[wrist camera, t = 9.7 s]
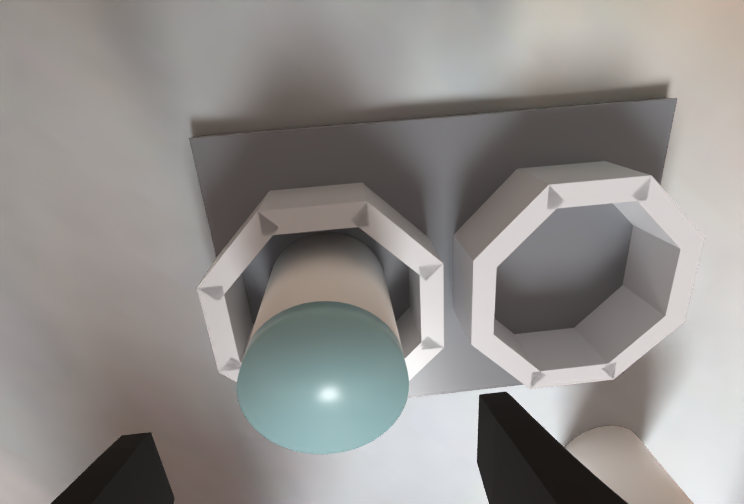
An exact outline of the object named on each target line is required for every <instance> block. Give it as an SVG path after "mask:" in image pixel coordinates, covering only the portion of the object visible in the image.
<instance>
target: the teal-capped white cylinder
mask: <svg viewBox="0 0 744 504" xmlns="http://www.w3.org/2000/svg"><path fill="white" fill-rule="evenodd" d="M408 392H409V377H408V371H407V367H406V362H405V358H404V354H403V350H402V346H401V342H400V337H399V333H398V329H397V325H396V321H395V317H394V312H393V308H392V304H391V300H390V296H389V292H388V287H387V283H386V279H385V275H384V271H383V268H382V266H381V263H380V261H379V260H378V258H377V257H376V255H375V254H374V253H373V252H372V250H371V249H370V248H368V247H367V246H366V245H365V244H363V243H362V242H360V241H359V240H357V239H355V238H353V237H350V236H347V235H344V234H340V233H332V232H324V233H316V234H311V235H308V236H305V237H303V238H300V239H298V240H297V241H295V242H293V243H292V244H290V245H289V246H288V247H287V248H286V249H285V250H284V251H283V252H282V253H281V254H280V256H279V257H278V258H277V260H276V262H275V264H274V266H273V269H272V272H271V275H270V278H269V281H268V284H267V287H266V290H265V293H264V297H263V300H262V303H261V306H260V309H259V312H258V315H257V318H256V321H255V324H254V327H253V330H252V333H251V336H250V340H249V343H248V346H247V349H246V352H245V355H244V358H243V361H242V364H241V367H240V370H239V373H238V379H237V395H238V401H239V404H240V407H241V410H242V412H243V413H244V415H245V417H246V419H247V420H248V421H249V423H250V424H251V425H252V426H253V427H254V428H255V429H256V430H257V431H258V432H259V433H260V434H261V435H263V436H264V437H265V438H267V439H268V440H270V441H272V442H273V443H275V444H277V445H279V446H282V447H284V448H287V449H290V450H293V451H298V452H302V453H310V454H333V453H340V452H345V451H349V450H352V449H355V448H358V447H361V446H363V445H365V444H367V443H369V442H371V441H373V440H375V439H376V438H378V437H379V436H381V435H382V434H383V433H384V432H386V431H387V430H388V429H389V428H390V427H391V426H392V425H393V424H394V423H395V421H396V420H397V419H398V417H399V416H400V414H401V412H402V410H403V409H404V406H405V404H406V401H407V397H408Z"/></svg>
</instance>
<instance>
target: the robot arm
mask: <svg viewBox="0 0 744 504" xmlns="http://www.w3.org/2000/svg"><path fill="white" fill-rule="evenodd" d="M477 464H478V467H479V471H480V474H481V478H482V481H483V485H484V488H485V491H486V495H487V498H488V501H489V504H628V503H627V502H626V501H625V500H624V499H622V498H621V497H620V496H619V495H618V494H616V493H615V492H614V491H613V490H612V489H610V488H609V487H608V486H607V485H606V484H605V483H603V482H602V481H601V480H600V479H599V478H598V477H596V476H595V475H594V474H593V473H592V472H591V471H590V470H589V469H588V468H586V467H585V466H584V465H583V464H582V463H581V462H580V461H579V460H578V459H576V458H575V457H574V456H573V455H572V454H571V453H570V452H569V451H568V450H566V449H565V448H564V447H563V446H562V445H561V444H560V443H559V442H558V441H557V440H556V439H555V438H554V437H553V436H552V435H551V434H549V433H548V432H547V431H546V430H545V429H544V428H543V427H542V426H541V425H540V424H539V423H538V422H537V421H536V420H535V419H534V418H533V417H532V416H531V415H530V414H529V413H528V412H527V411H526V410H525V409H524V408H523V407H522V406H521V405H520V404H519V403H518V402H517V401H516V400H515V399H514V398H513V397H512V396H511V395H509V394H508V393H507V392H499V393H490V394H481V395H479V419H478V448H477ZM174 499H175V498H174V496H173V493H172V490H171V487H170V485H169V482H168V479H167V476H166V473H165V471H164V468H163V465H162V462H161V459H160V457H159V454H158V451H157V448H156V446H155V443H154V440H153V437H152V434H151V432H149V433H140V434H132V435H123V436H121V437H120V438H119V439H118V440H117V441H115V442H114V443H113V444H112V445H111V446H110V447H109V448H108V449H107V450H106V451H105V452H104V453H103V454H102V455H101V456H100V457H98V458H97V459H96V460H95V461H94V462H93V463H92V464H91V465H90V466H89V467H88V468H87V469H86V470H85V471H84V472H83V473H82V474H81V475H80V476H79V477H78V478H77V479H76V480H75V481H74V482H73V483H72V484H71V485H70V486H69V487H68V488H67V489H66V490H65V491H63V492H62V493H61V494H60V495H59V496H58V497H57V498H56V499H55V500H54V501H53V502H52V503H51V504H173V503H174Z"/></svg>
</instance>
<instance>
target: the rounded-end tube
mask: <svg viewBox="0 0 744 504" xmlns="http://www.w3.org/2000/svg"><path fill="white" fill-rule="evenodd" d="M565 449H566V450H568V451H569V452H570V453H571V454H572V455H573V456H574V457H575V458H576V459H578V460H579V461H580V462H581V463H582V464H583V465H584V466H585V467H586V468H588V469H589V470H590V471H591V472H592V473H593V474H594V475H595V476H596V477H598V478H599V479H600V480H601V481H602V482H603V483H605V484H606V485H607V486H608V487H609V488H610V489H612V490H613V491H614V492H615V493H616V494H618V495H619V496H620V497H621V498H622V499H624V500H625V501H626V502H627V503H628V504H694V503H693V502H692V501H691V500H690V499H689V498H688V496H687V495H686V494H685V493H684V492H683V490H682V489H681V488H680V487H679V486H678V484H677V483H676V482H675V481H674V480H673V478H672V477H671V476H670V475H669V474H668V473H667V471H666V470H665V469H664V468H663V467H662V465H661V464H660V463H659V462H658V461H657V459H656V458H655V457H654V456H653V455H652V453H651V452H650V451H649V450H648V449H647V448H646V446H645V445H644V444H643V443H642V442H641V440H640V439H639V438H638V437H637V436H636V435H635V434H634V433H633V432H632V431H631V430H629V429H627V428H624V427H621V426H611V425H610V426H601V427H597V428H593V429H590V430H588V431H586V432H584V433H582V434H580V435H578V436H577V437H575V438H574V439H573V440H572V441H570V442H569V443H568V444H567V446H566V447H565Z"/></svg>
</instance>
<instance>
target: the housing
mask: <svg viewBox="0 0 744 504" xmlns="http://www.w3.org/2000/svg"><path fill="white" fill-rule="evenodd" d="M676 102H677V98H658V99H646V100H634V101H622V102H610V103H597V104H585V105H573V106H561V107H549V108H536V109H524V110H512V111H500V112H488V113H475V114H463V115H451V116H439V117H427V118H414V119H402V120H390V121H378V122H366V123H353V124H341V125H329V126H317V127H305V128H293V129H280V130H268V131H256V132H244V133H232V134H219V135H207V136H195V137H192V138H189V140H190V145H191V149H192V153H193V158H194V162H195V166H196V170H197V175H198V179H199V183H200V188H201V192H202V196H203V201H204V205H205V209H206V214H207V218H208V222H209V227H210V231H211V235H212V240H213V244H214V248H215V252H216V257H217V258H216V259H215V261H214V262H213V264H212V265H211V267H210V268H209V270H208V271H207V273H206V274H205V276H204V278H203V279H202V281H201V282H200V284H199V285H198V287H197V292H198V295H199V299H200V303H201V307H202V311H203V315H204V319H205V322H206V326H207V330H208V334H209V338H210V342H211V345H212V349H213V353H214V357H215V361H216V365H217V369H218V372H219V373H221V374H223V375H224V376H226V377H228V378H230V379H231V380H233V381H235V382H237V379H238V373H239V370H240V367H241V364H242V361H243V358H244V355H245V352H246V349H247V346H248V343H249V340H250V336H251V333H252V330H253V327H254V324H255V321H256V318H257V315H258V312H259V309H260V306H261V303H262V300H263V297H264V293H265V290H266V287H267V284H268V281H269V278H270V275H271V272H272V269H273V266H274V264H275V262H276V260H277V258H278V257H279V256H280V254H281V253H282V252H283V251H284V250H285V249H286V248H287V247H288V246H289V245H290V244H292V243H293V242H295V241H297V240H298V239H300V238H303V237H305V236H308V235H311V234H316V233H324V232H332V233H340V234H344V235H347V236H350V237H353V238H355V239H357V240H359V241H360V242H362V243H363V244H365V245H366V246H367V247H368V248H370V249H371V250H372V252H373V253H374V254H375V255H376V257H377V258H378V260H379V261H380V263H381V266H382V268H383V271H384V275H385V279H386V283H387V287H388V292H389V296H390V300H391V304H392V308H393V312H394V317H395V321H396V325H397V329H398V333H399V337H400V342H401V346H402V350H403V354H404V358H405V362H406V367H407V371H408V377H409V392H408V397H407V398H409V397H418V396H427V395H436V394H444V393H453V392H462V391H471V390H480V389H488V388H497V387H506V386H515V385H525V386H527V387H528V388H529V389H536V388H544V387H553V386H562V385H571V384H579V383H588V382H597V381H606V380H613V379H615V378H616V377H617V376H619V375H620V374H621V373H623V372H624V371H625V370H626V369H627V368H628V367H630V366H631V365H632V364H633V363H634V362H636V361H637V360H638V359H639V358H641V357H642V356H643V355H644V354H645V353H647V352H648V351H649V350H650V349H652V348H653V347H654V346H655V345H656V344H658V343H659V342H660V341H661V340H663V339H664V338H665V337H666V336H667V335H669V334H670V333H671V332H672V331H674V330H675V329H676V328H677V327H678V326H680V325H681V324H682V323H683V322H684V321H685V317H686V313H687V310H688V306H689V302H690V298H691V294H692V290H693V286H694V282H695V278H696V274H697V270H698V266H699V262H700V258H701V254H702V250H703V246H704V242H705V237H704V236H703V234H702V233H701V232H700V231H699V230H698V229H697V227H696V226H695V225H694V224H693V223H692V222H691V220H690V219H689V218H688V217H687V216H686V215H685V214H684V212H683V211H682V210H681V209H680V208H679V207H678V205H677V204H676V203H675V202H674V201H673V200H672V198H671V197H670V196H669V195H668V194H667V193H666V191H665V190H664V189H663V188H662V187H661V186H660V184H661V179H662V173H663V168H664V163H665V158H666V153H667V148H668V143H669V138H670V133H671V128H672V122H673V117H674V112H675V107H676Z"/></svg>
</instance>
